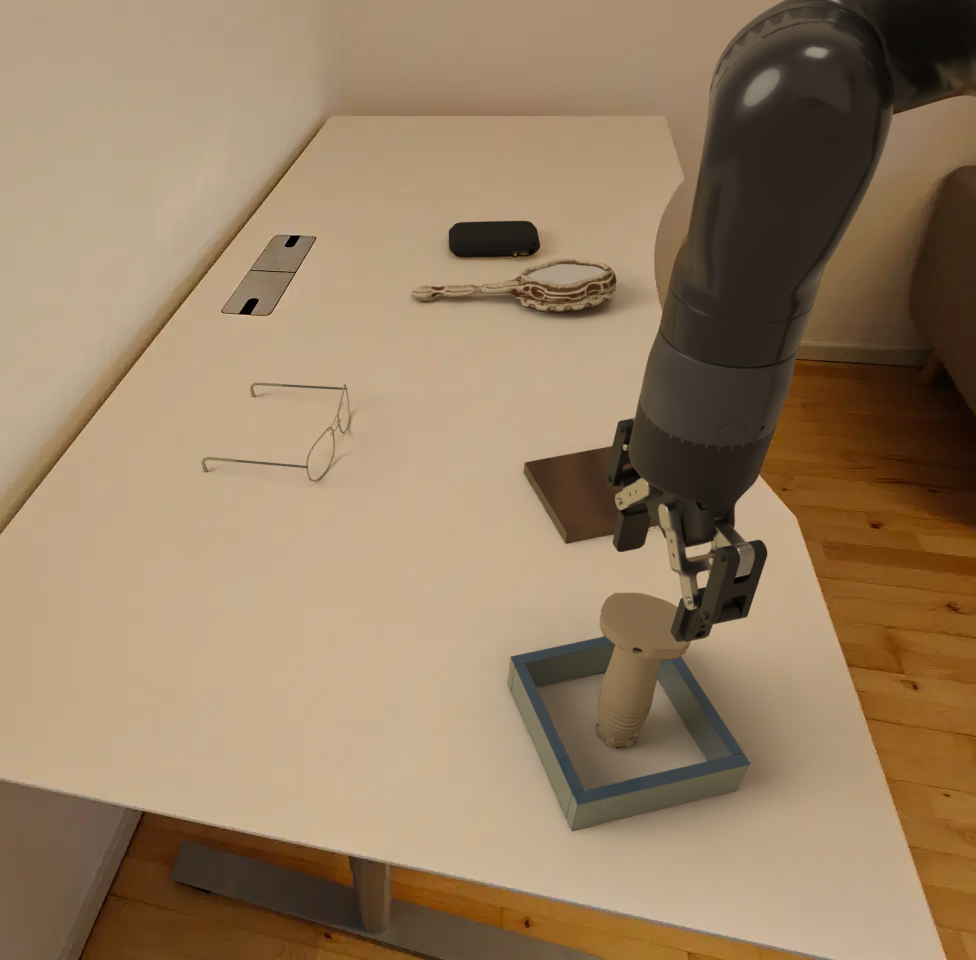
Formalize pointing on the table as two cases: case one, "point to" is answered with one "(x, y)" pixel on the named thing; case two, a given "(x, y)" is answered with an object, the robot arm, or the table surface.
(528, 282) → the hand mirror
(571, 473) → the board
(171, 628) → the table surface
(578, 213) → the table surface
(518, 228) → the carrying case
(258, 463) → the eyeglasses
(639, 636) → the handle
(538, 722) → the blue square frame
